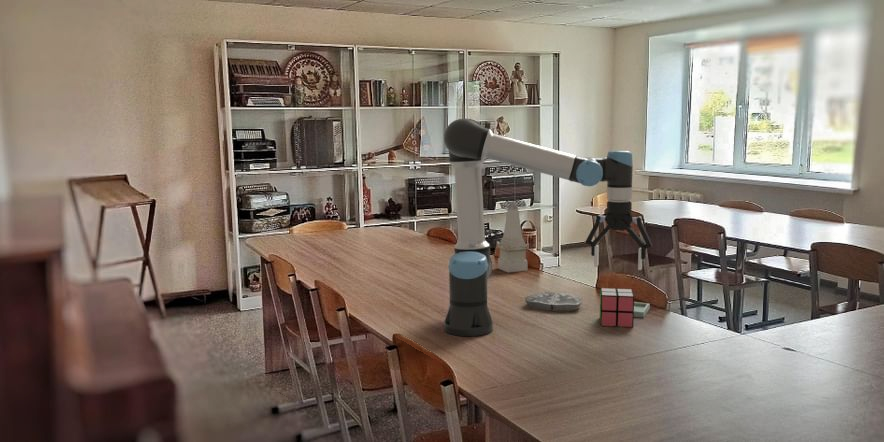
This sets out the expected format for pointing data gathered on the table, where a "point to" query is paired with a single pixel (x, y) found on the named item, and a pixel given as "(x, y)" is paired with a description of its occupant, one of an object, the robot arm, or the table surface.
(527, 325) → the table surface
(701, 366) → the table surface
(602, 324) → the puzzle cube
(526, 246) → the miniature monument
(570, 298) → the brain slice
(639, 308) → the coaster
